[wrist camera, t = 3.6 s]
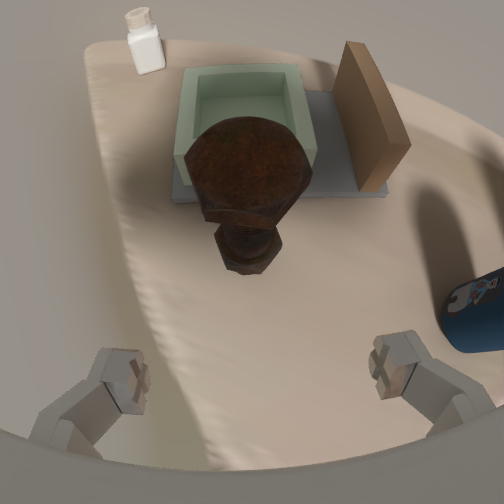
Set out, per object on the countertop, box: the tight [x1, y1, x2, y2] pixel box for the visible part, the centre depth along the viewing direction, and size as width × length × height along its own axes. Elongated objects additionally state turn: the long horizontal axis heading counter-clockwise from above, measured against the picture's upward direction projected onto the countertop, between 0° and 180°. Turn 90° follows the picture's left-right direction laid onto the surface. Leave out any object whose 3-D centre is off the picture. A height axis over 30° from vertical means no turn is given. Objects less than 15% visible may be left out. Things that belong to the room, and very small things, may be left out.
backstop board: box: [171, 41, 411, 204], centre depth 27 cm, size 21×14×9 cm, turn 93°
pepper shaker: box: [125, 7, 166, 75], centre depth 31 cm, size 4×4×10 cm
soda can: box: [442, 267, 504, 353], centre depth 19 cm, size 7×7×12 cm
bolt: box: [183, 116, 313, 275], centre depth 20 cm, size 6×5×15 cm
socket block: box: [173, 64, 317, 186], centre depth 27 cm, size 12×12×5 cm
